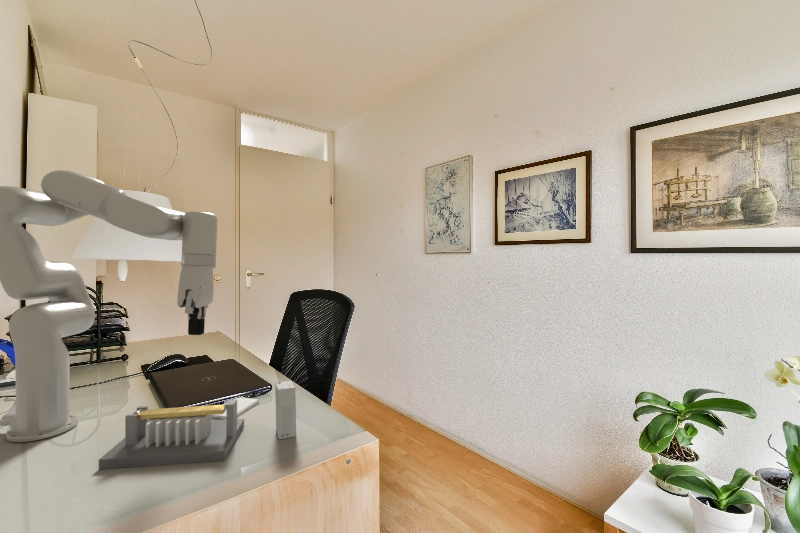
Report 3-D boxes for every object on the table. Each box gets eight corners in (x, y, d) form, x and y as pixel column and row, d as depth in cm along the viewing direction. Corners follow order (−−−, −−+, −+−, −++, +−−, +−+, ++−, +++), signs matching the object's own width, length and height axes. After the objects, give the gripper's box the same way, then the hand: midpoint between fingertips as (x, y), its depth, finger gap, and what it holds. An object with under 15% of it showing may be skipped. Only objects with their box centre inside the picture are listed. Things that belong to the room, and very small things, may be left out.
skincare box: (296, 436, 88) (297, 387, 88) (277, 440, 86) (278, 390, 86) (292, 426, 93) (293, 379, 93) (274, 429, 91) (274, 382, 91)
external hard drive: (259, 404, 108) (231, 422, 96) (235, 401, 110) (205, 419, 98) (259, 399, 108) (231, 416, 96) (235, 396, 110) (205, 413, 98)
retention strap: (129, 421, 80) (129, 414, 80) (136, 415, 83) (136, 408, 83) (223, 415, 83) (223, 408, 83) (227, 409, 86) (227, 403, 86)
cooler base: (98, 469, 73) (98, 423, 73) (141, 432, 89) (141, 393, 89) (224, 460, 77) (224, 416, 77) (244, 426, 93) (244, 389, 93)
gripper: (195, 260, 97) (193, 328, 97) (167, 261, 82) (164, 340, 83) (225, 261, 98) (222, 328, 98) (202, 262, 83) (199, 341, 84)
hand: (196, 334), depth 90 cm, fingers closed
